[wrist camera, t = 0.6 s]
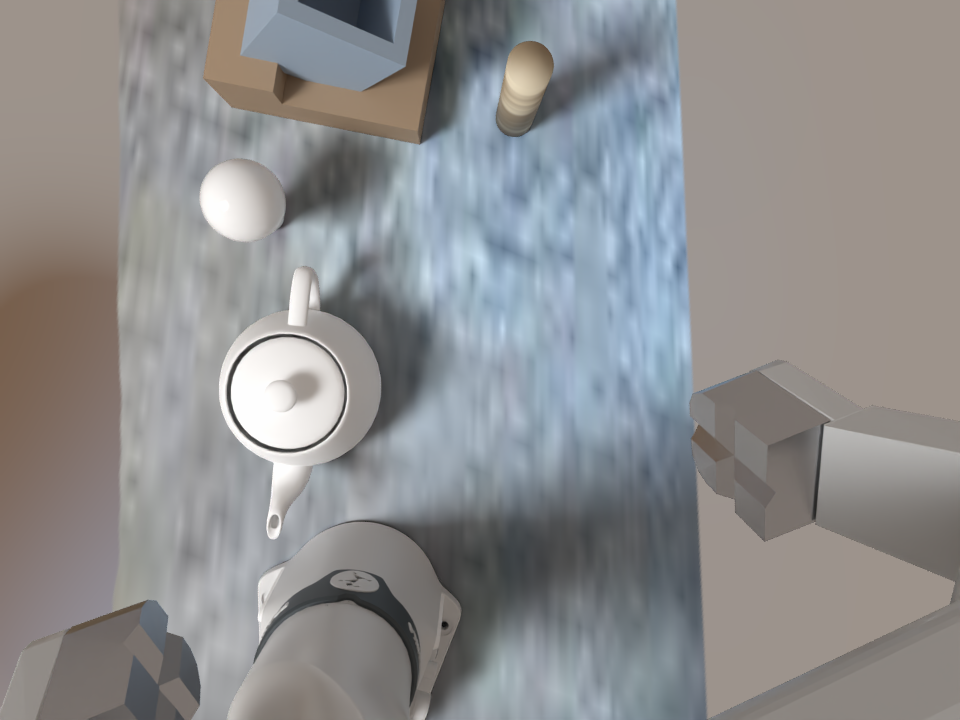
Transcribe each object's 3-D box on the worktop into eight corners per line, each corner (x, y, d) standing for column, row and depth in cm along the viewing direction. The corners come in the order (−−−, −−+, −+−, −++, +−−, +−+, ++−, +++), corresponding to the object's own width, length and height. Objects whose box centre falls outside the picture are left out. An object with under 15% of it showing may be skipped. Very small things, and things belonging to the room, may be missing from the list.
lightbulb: (312, 190, 59) (281, 159, 48) (298, 259, 59) (264, 244, 48) (242, 175, 59) (194, 140, 48) (229, 244, 59) (178, 225, 48)
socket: (419, 144, 59) (408, 75, 43) (231, 107, 58) (148, 23, 42) (447, -11, 59) (446, -140, 43) (258, -51, 58) (183, -198, 42)
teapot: (245, 263, 59) (199, 249, 48) (396, 281, 60) (384, 271, 49) (222, 502, 60) (172, 540, 49) (371, 517, 61) (354, 557, 50)
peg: (529, 140, 60) (549, 92, 48) (492, 132, 59) (503, 83, 47) (535, 103, 59) (557, 46, 48) (499, 95, 59) (511, 36, 47)
